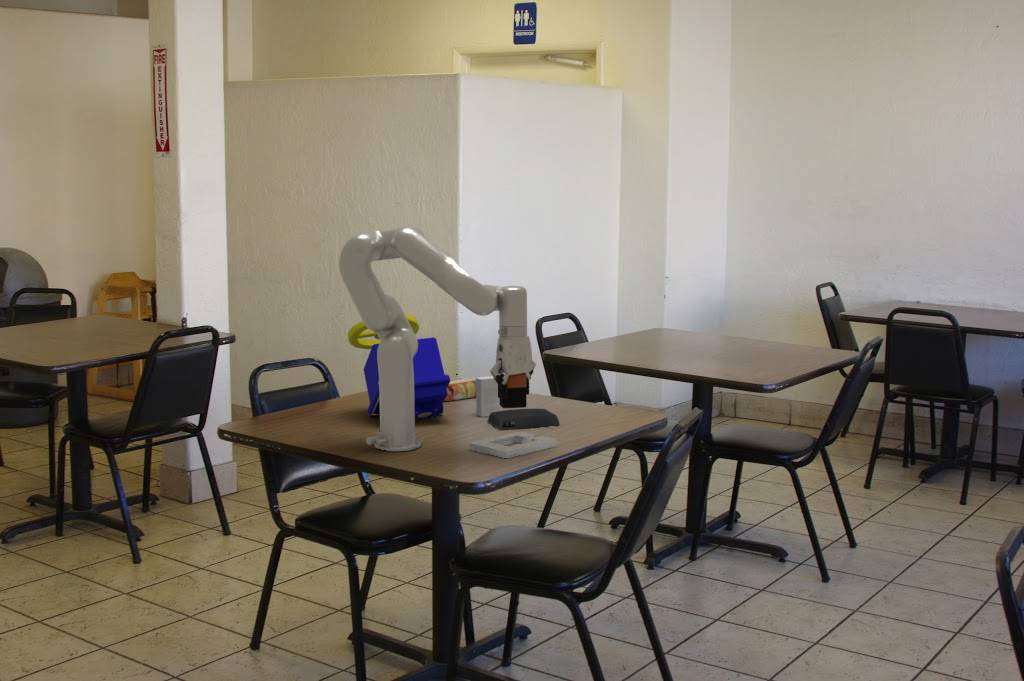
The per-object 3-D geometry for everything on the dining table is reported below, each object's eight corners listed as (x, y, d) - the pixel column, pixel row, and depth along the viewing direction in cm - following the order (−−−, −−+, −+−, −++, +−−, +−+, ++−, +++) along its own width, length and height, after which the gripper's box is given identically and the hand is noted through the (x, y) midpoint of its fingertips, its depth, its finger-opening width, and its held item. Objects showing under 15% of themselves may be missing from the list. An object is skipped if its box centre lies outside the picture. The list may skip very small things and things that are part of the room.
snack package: (427, 405, 364) (427, 385, 363) (417, 402, 370) (417, 382, 369) (481, 398, 377) (481, 378, 376) (470, 395, 382) (470, 376, 381)
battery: (526, 407, 301) (526, 371, 300) (502, 408, 300) (502, 372, 299) (523, 404, 306) (523, 368, 304) (499, 405, 304) (499, 369, 303)
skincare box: (493, 413, 351) (493, 375, 350) (498, 415, 348) (498, 377, 346) (475, 414, 349) (475, 377, 347) (481, 417, 345) (480, 379, 343)
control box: (459, 398, 330) (438, 307, 340) (371, 410, 321) (352, 316, 331) (441, 427, 352) (422, 341, 362) (358, 439, 343) (341, 350, 354)
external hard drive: (486, 423, 338) (486, 410, 338) (546, 419, 344) (546, 406, 344) (499, 432, 326) (499, 418, 325) (561, 428, 332) (561, 414, 331)
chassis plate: (505, 458, 292) (505, 451, 292) (469, 450, 302) (469, 442, 302) (556, 446, 306) (556, 439, 306) (520, 438, 316) (520, 431, 316)
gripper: (500, 336, 291) (500, 402, 293) (545, 330, 303) (545, 393, 306) (480, 333, 296) (481, 398, 299) (525, 327, 308) (525, 390, 311)
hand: (513, 395), depth 302 cm, fingers closed on battery, 7 cm apart
